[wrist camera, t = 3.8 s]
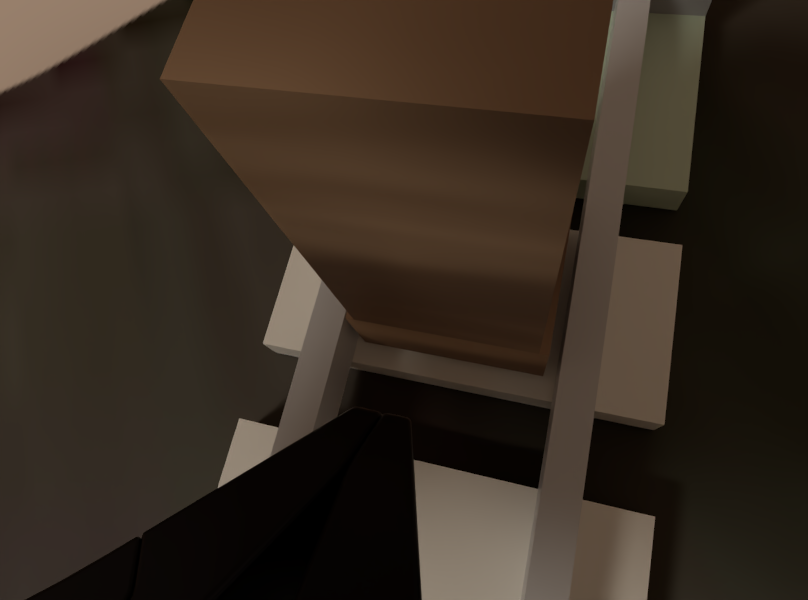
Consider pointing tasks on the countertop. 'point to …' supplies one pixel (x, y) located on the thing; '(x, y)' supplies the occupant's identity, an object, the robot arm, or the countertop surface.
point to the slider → (410, 152)
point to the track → (569, 355)
